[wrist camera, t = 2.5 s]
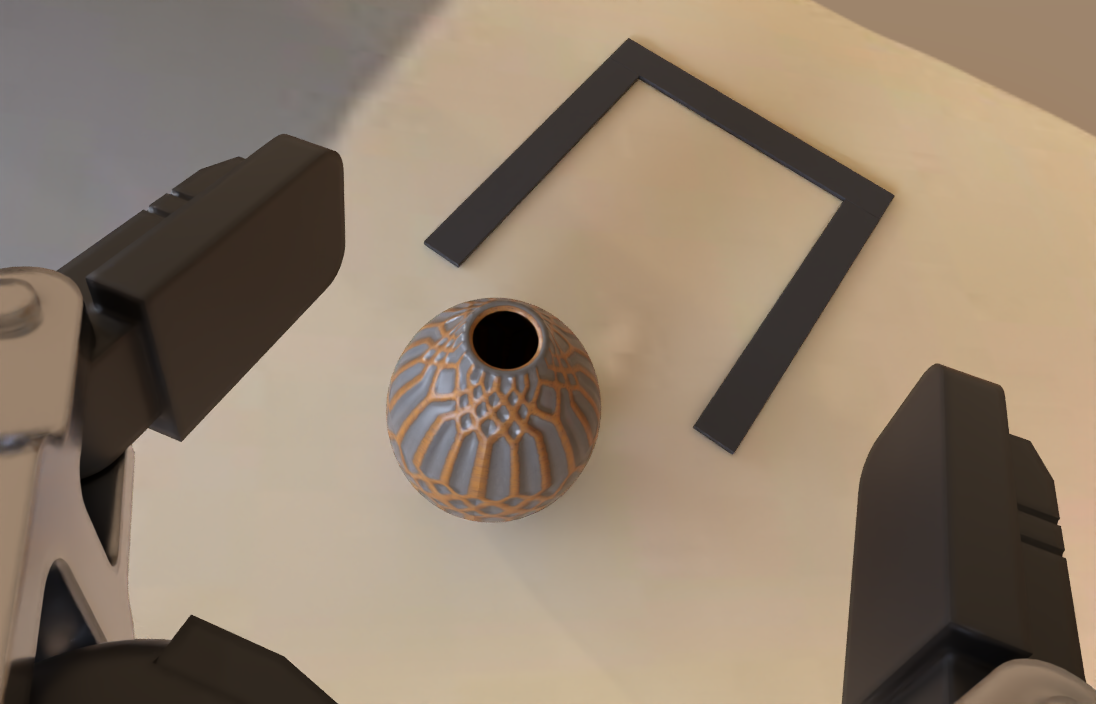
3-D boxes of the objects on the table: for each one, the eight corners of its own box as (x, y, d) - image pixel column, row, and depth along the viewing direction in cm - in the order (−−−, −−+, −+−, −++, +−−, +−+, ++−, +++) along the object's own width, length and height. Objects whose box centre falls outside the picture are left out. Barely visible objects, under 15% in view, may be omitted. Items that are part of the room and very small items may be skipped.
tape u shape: (423, 244, 33) (423, 241, 32) (627, 41, 40) (628, 37, 39) (732, 454, 30) (734, 453, 30) (892, 197, 37) (894, 195, 37)
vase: (588, 378, 31) (638, 252, 23) (572, 555, 28) (624, 477, 20) (412, 352, 30) (402, 213, 23) (374, 528, 27) (348, 438, 19)
